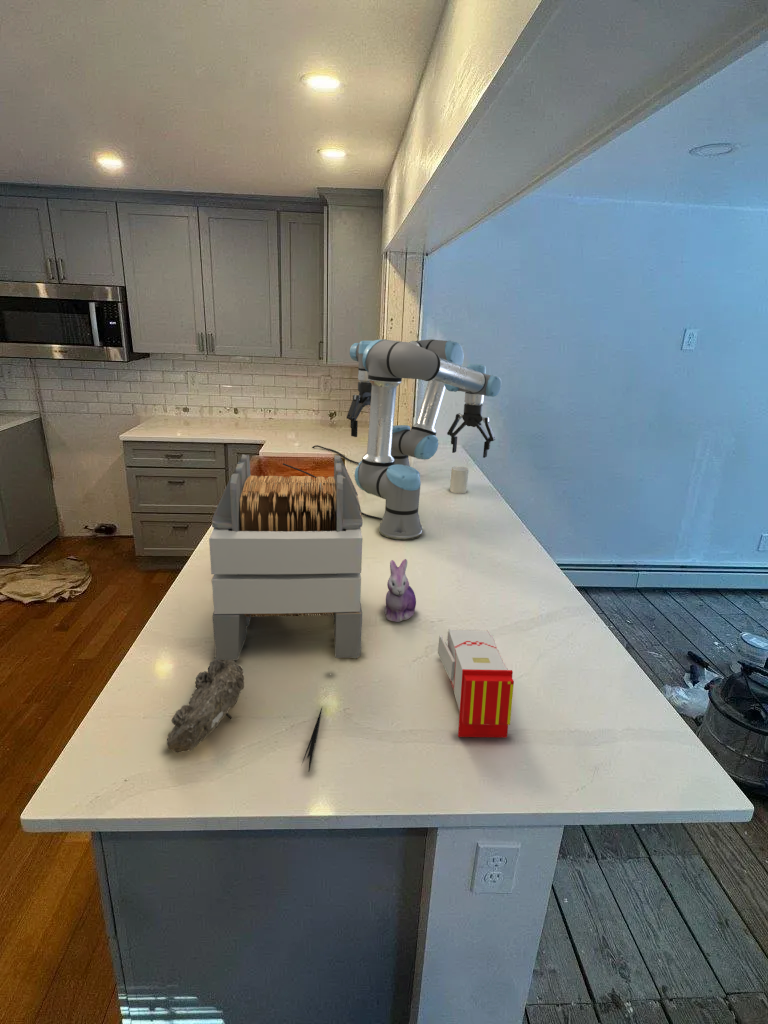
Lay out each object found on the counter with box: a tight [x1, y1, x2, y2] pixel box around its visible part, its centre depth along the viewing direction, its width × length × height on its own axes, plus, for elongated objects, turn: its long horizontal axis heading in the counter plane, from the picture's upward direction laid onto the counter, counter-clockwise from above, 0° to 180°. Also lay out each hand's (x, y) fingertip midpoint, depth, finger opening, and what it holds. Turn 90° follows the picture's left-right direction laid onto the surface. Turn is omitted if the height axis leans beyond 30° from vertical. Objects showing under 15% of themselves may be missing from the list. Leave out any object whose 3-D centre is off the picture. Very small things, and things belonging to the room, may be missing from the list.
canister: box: [449, 465, 470, 494], centre depth 249 cm, size 7×7×10 cm
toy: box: [437, 628, 515, 738], centre depth 117 cm, size 12×13×30 cm
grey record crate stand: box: [208, 453, 364, 661], centre depth 135 cm, size 34×33×41 cm
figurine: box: [384, 558, 417, 623], centre depth 145 cm, size 9×10×15 cm
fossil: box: [166, 659, 245, 754], centre depth 106 cm, size 22×10×15 cm
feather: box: [301, 673, 332, 771], centre depth 108 cm, size 2×28×2 cm
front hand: (469, 454), depth 237 cm, fingers open, 13 cm apart
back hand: (365, 434), depth 232 cm, fingers open, 13 cm apart
